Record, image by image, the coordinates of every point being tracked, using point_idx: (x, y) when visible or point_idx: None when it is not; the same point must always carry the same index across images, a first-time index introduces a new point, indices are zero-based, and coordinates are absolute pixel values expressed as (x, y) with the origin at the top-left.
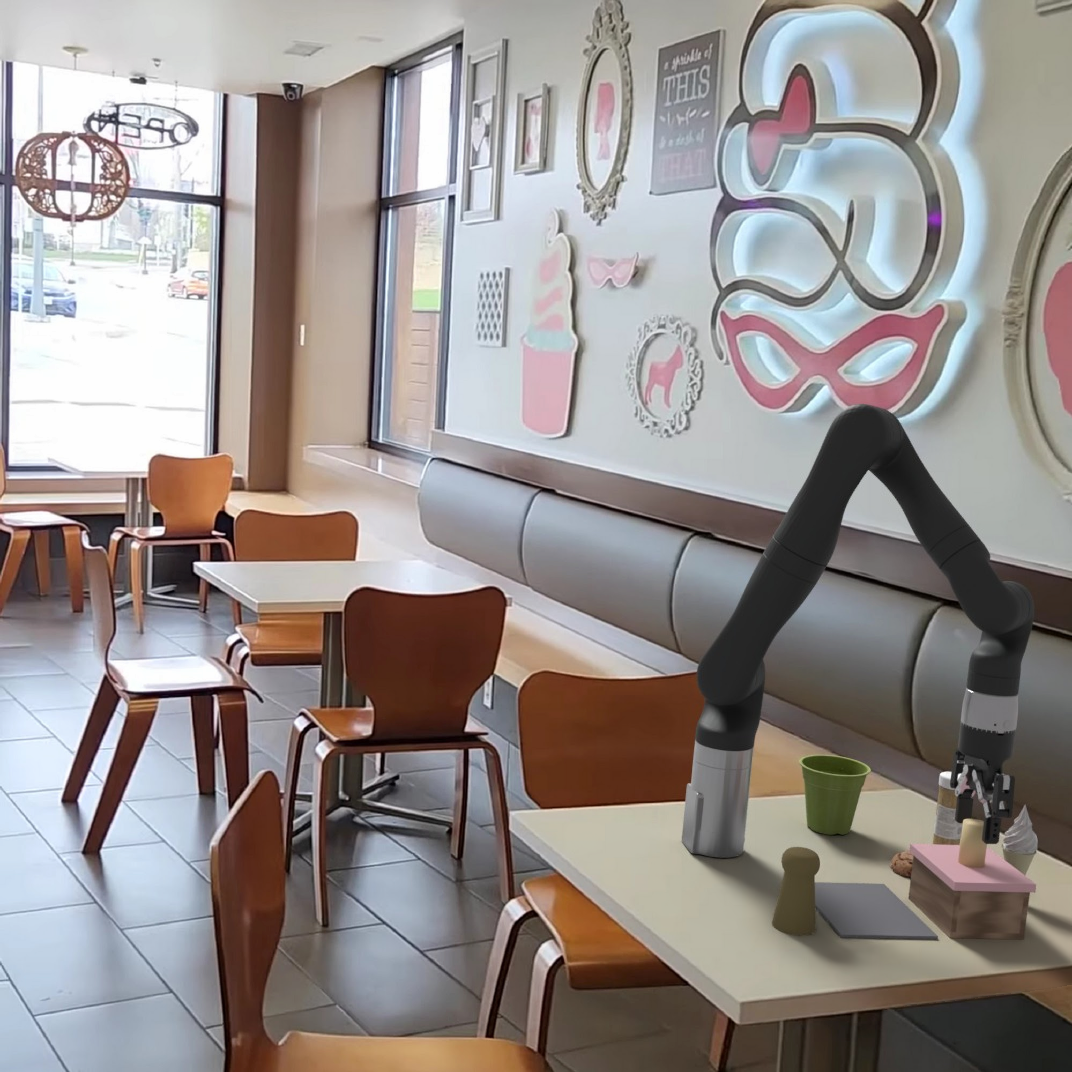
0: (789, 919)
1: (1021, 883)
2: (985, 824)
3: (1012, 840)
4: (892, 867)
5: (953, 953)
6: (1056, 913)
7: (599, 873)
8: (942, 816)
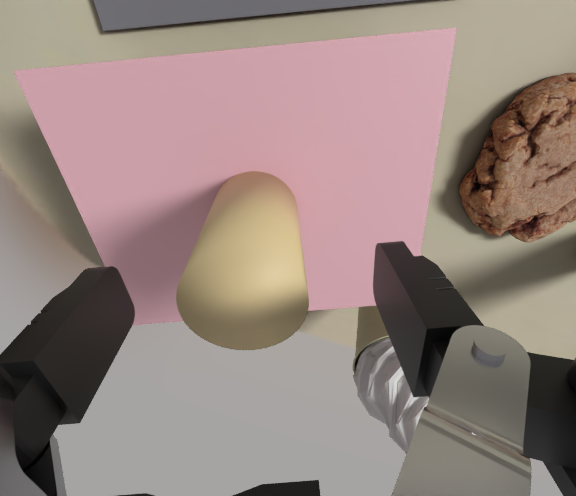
0: None
1: None
2: (34, 328)
3: (390, 368)
4: (570, 73)
5: (26, 44)
6: (311, 326)
7: None
8: None
